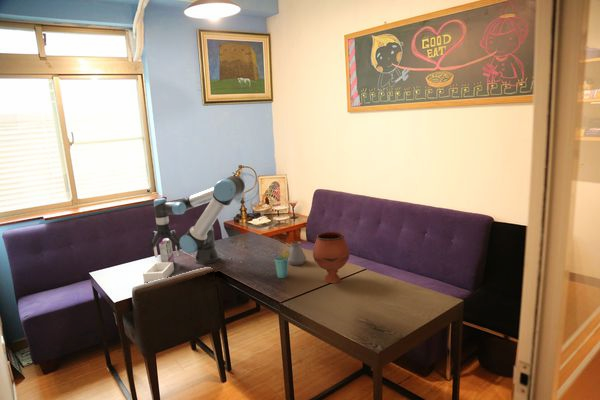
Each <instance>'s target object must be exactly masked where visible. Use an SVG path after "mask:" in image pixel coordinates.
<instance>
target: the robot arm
mask: <svg viewBox="0 0 600 400" xmlns="http://www.w3.org/2000/svg"><path fill="white" fill-rule="evenodd" d="M245 188H246V185H245V182H244V180H243V178H242V177H239V176H234V175H233V176H230V177H227V178H222V179H220V180H219V181H217V182H216V183H215V184H214V186H212V187H211V188H208V189H205V190H203V191H200V192H197V193H194V194H192V195H188V196H186V197H184V198H181V199H179V200H175V201H167V198H164V197H160V198H155V199H154V200H153V209H154V210H153V211H154V214H155V216H154V217H155V222H156V230H157V231H155V230H153V231H152V232H151V234H152V236H151V237H150V241H149V244H148V247H151V248H152V252H153V253H154V258H157V257H158V256H159V255H158V247H157V244H158V242H159V240H160V239H165V238H169V239H170V240H171V242H172V244H174V245H175V246H174V247H175V255H176V257H178V256H179V255H180V252H179V251H180V249H181V250H182V251H183V252H184V253H186V254H194V253H195V257H194V262H195V263H197V264H199V265H200V264H201V265H202V264H203V265H206V264H211V263H212V264H213V263H215V262H218V261H219V259H220V255H219V253H218V252H219V251H218V250H217V248H216V242H215V241H216V240H215V233H214V226H213V225H214V224H215V222H216V221H217V219H218V218H219V216H220V215H221V214H222V212H223V210H224V209H225V207H228V206H230V205H231V203H232V202H233V201H234V199H235V198H236V197H238V196H240V195H241V194H243V193H244V191H245ZM205 204H208V205H207V206H206V207H205V209H204V211H203V212H202V214H201V215H200V217H199V218H198V220H197V221H196V223H195V224H194V225H193V226H190V227H189V228H188V231H187V232H186V233H185V234H183V235H182V236H181V237H180V236H179V235H178V234H177V230H176V229H173V230H171V228H170V227H171V226H170V223H169V222H170V218H169V215H183V214H185V212H186V211H188V210H190V209H191V210H192V209H194V208H196V207H199V206H202V205H205ZM156 235H158V236H157V238H156ZM155 239H156V240H155Z"/></svg>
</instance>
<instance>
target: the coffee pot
mask: <svg viewBox="0 0 600 400" xmlns="http://www.w3.org/2000/svg"><path fill="white" fill-rule="evenodd" d="M272 240H273V241H275V240H276V241H278V242H280V243H282V244H283V245H286V246H287V247H289V248H290V250H289V253H290V256H289V258H288V260H287V263H289V264H290V265H292V266H300V265H303V264H304V263H305V262H306V261H307V257H306V255H305V251H303V247H301V244H302V241H299V240H297V241H295V240H294V241H291V242H290V243H289V244H288V243H287V242H285V241H283V240H282V239H279V238H277V237H276V236H275V237H273V239H272Z"/></svg>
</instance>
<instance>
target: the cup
mask: <svg viewBox="0 0 600 400" xmlns="http://www.w3.org/2000/svg"><path fill="white" fill-rule="evenodd" d="M273 256H274V258H273V261H274V264H275V270H276V276H277V278H278V279H284V278H287V277H288V258H289V256H290V250H286V249H285V250H283V252H282V253H281V255H277V254H276V253H272V254H271V255H270V258H272V257H273Z"/></svg>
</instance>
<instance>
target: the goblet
mask: <svg viewBox="0 0 600 400" xmlns="http://www.w3.org/2000/svg"><path fill="white" fill-rule="evenodd" d="M312 257H313V260H314V262H315V264H317V265H318V266H319V268H321V269H323V270H325V271H326V273H327V274H326V275H325V277H324V279H323V280H324V282H325V283H328V284H336V283H338V282H340V281H341V277H340V276H339V275H338V273H339V270H340V269H342V268H343V267H344V266H345V265H346V264H347V262H348V261H349V259H350V249H349V247H348V243H347V241H346V239H345V235H344V233H343V232H340V231H327V232H322V233H319V234H317V235H316V240H315V242H314V245H313V249H312Z"/></svg>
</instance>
